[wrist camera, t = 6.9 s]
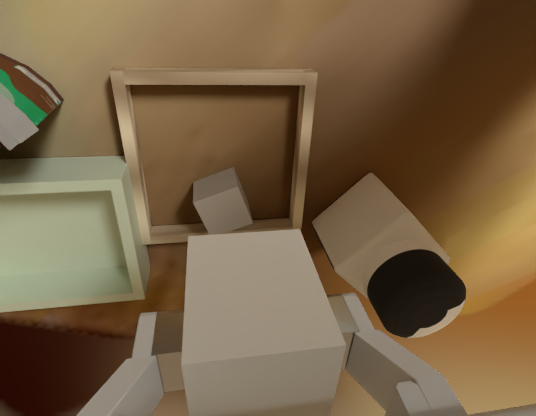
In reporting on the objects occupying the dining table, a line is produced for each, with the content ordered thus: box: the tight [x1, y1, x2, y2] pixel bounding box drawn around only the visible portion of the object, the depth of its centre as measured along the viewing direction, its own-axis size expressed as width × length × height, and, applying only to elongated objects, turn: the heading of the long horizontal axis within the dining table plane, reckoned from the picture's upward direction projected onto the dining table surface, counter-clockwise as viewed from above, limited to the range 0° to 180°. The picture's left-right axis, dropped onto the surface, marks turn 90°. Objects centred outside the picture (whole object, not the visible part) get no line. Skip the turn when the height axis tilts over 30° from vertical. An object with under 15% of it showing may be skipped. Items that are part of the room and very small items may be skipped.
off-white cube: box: [181, 229, 346, 416], centre depth 12 cm, size 4×4×5 cm
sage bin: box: [0, 156, 150, 312], centre depth 27 cm, size 11×16×4 cm
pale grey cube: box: [193, 167, 253, 235], centre depth 28 cm, size 4×4×4 cm
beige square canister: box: [312, 173, 466, 338], centre depth 29 cm, size 7×7×12 cm
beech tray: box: [109, 67, 318, 245], centre depth 27 cm, size 14×14×2 cm
